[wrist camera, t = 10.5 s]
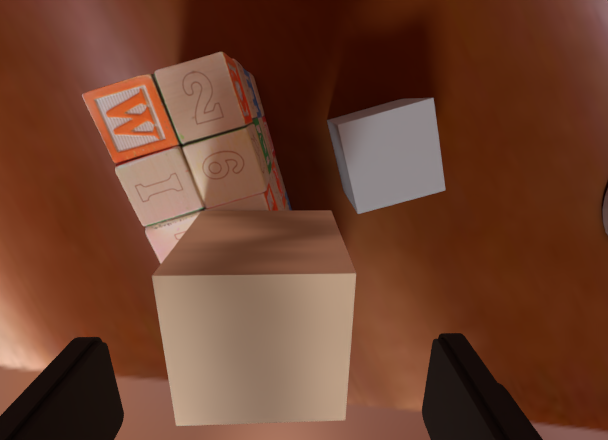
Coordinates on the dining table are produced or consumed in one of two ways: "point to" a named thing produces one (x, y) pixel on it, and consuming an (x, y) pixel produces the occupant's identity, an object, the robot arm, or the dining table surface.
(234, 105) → the stack of blocks
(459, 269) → the dining table surface
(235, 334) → the maple cube
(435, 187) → the bluegrey block
